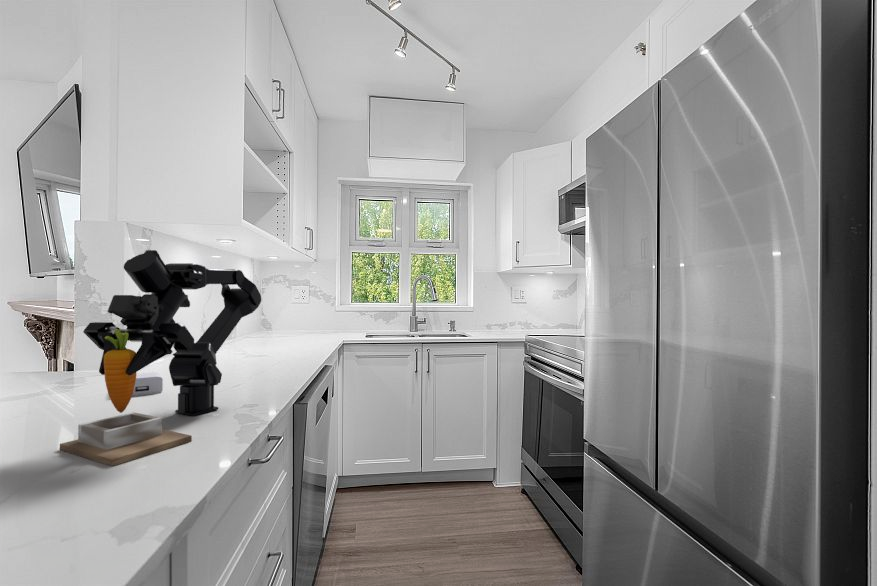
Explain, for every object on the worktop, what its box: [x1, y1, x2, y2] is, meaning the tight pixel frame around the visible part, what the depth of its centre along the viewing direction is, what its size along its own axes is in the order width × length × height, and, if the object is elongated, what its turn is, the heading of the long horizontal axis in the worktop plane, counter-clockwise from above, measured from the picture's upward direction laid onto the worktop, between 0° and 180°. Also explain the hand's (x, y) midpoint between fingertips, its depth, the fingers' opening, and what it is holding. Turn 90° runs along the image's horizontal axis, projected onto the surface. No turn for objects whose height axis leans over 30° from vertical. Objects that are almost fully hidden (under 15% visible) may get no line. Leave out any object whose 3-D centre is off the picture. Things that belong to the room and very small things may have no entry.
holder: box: [59, 411, 193, 467], centre depth 77 cm, size 13×16×4 cm
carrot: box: [104, 329, 137, 414], centre depth 78 cm, size 5×5×15 cm
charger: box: [132, 371, 164, 397], centre depth 122 cm, size 5×9×15 cm
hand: (114, 373), depth 76 cm, fingers closed on carrot, 5 cm apart
